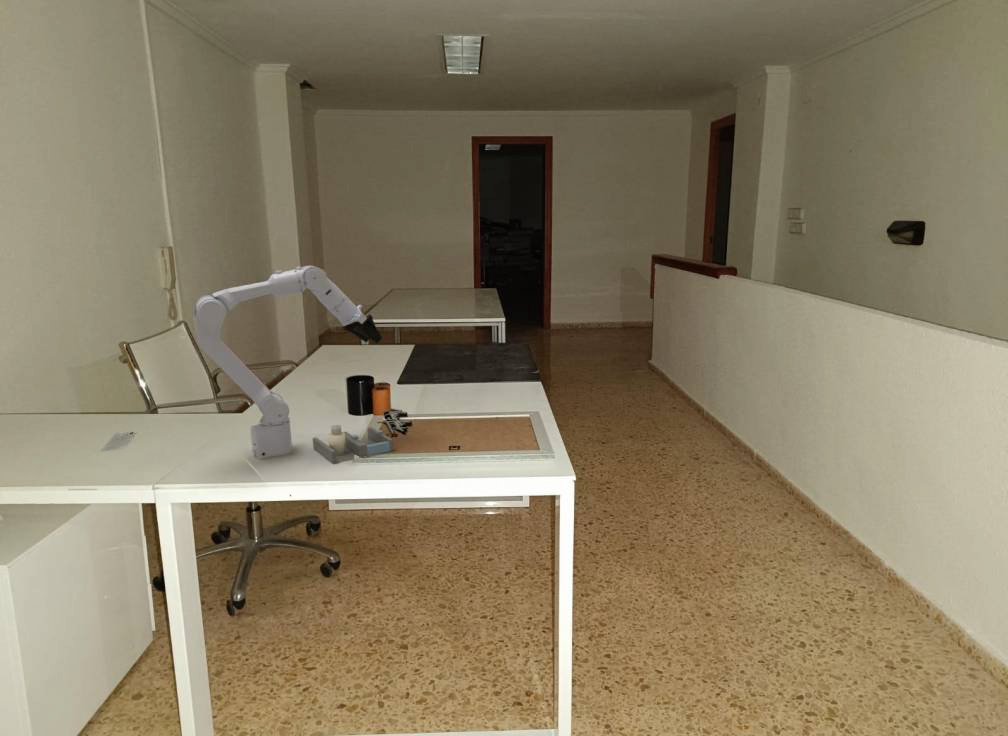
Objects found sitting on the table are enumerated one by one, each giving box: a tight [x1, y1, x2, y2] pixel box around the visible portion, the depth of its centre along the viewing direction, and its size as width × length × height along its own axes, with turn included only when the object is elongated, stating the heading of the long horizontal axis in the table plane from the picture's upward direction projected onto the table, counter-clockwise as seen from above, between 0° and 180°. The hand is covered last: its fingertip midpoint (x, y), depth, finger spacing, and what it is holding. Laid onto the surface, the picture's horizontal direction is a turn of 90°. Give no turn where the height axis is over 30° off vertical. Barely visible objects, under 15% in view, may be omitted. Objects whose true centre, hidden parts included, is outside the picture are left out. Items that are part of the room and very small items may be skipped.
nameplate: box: [376, 408, 413, 436], centre depth 203 cm, size 28×2×10 cm
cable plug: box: [328, 424, 346, 456], centre depth 173 cm, size 4×4×7 cm
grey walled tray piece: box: [312, 426, 394, 465], centre depth 176 cm, size 16×14×5 cm
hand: (373, 340), depth 183 cm, fingers open, 7 cm apart
